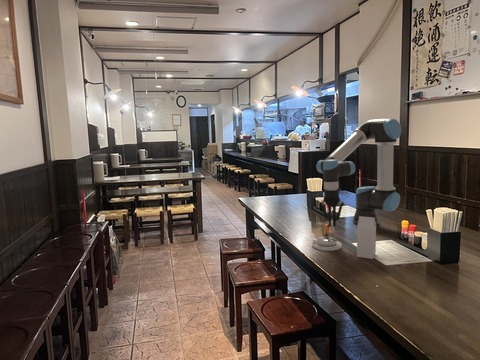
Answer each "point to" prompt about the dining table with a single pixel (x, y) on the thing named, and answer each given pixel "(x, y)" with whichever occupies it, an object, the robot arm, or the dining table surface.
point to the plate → (324, 248)
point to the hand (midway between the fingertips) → (332, 232)
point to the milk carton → (366, 237)
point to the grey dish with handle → (326, 238)
